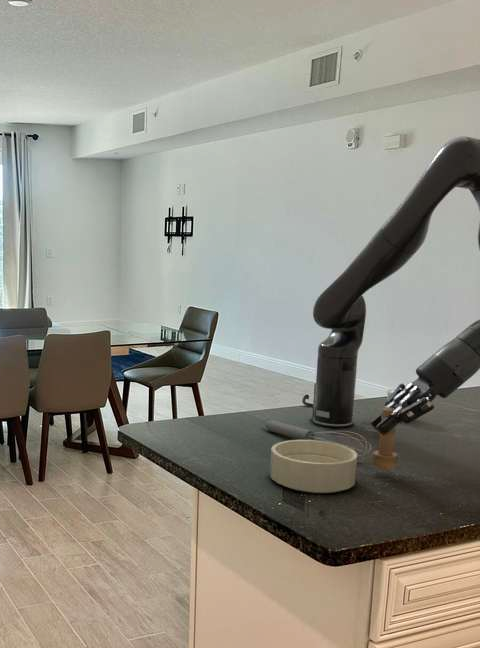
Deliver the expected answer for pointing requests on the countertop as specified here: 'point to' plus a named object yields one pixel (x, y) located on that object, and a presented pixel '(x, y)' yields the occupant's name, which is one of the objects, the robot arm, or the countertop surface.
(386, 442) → the tan wooden post
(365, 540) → the countertop surface
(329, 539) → the countertop surface
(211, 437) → the countertop surface
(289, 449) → the bowl
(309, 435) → the kitchen whisk
